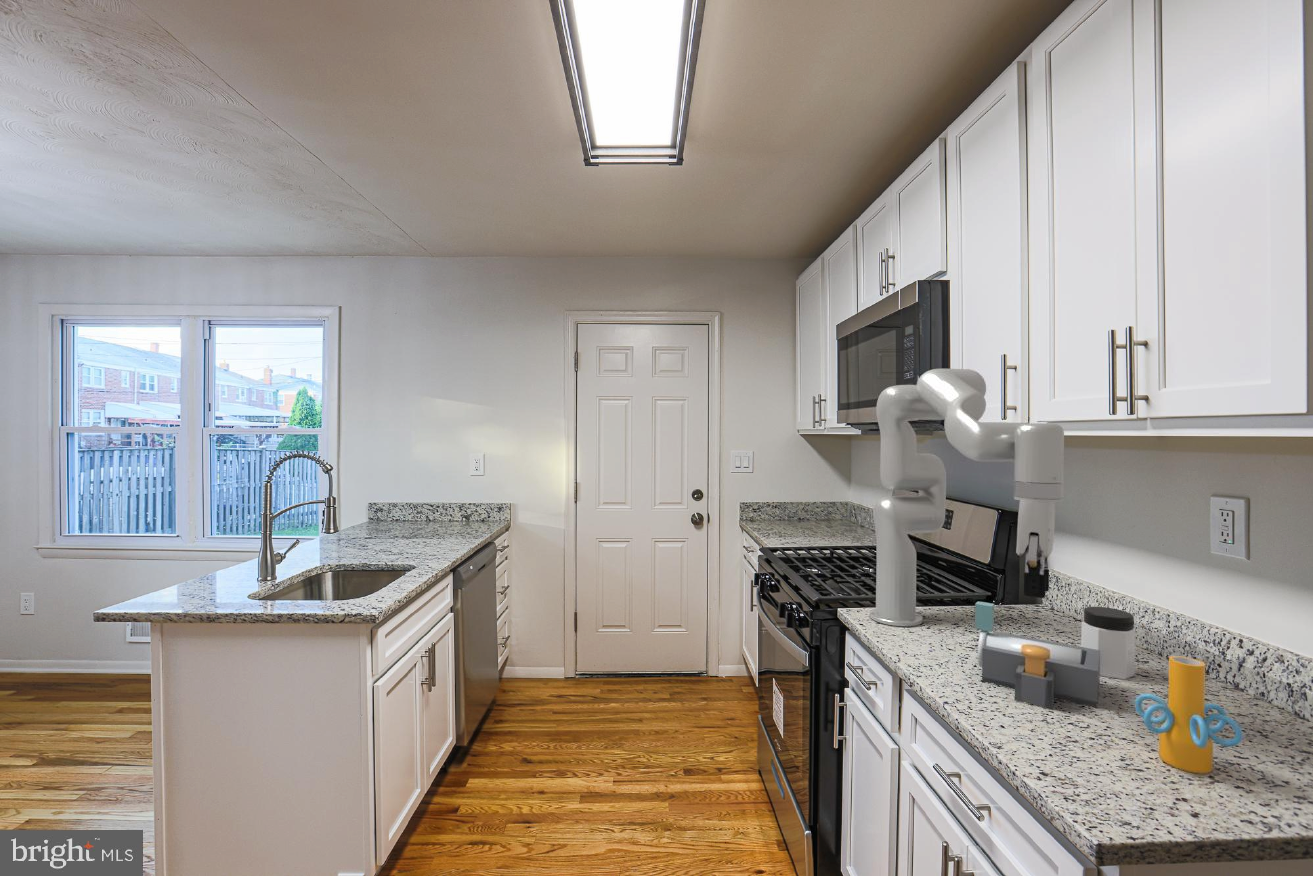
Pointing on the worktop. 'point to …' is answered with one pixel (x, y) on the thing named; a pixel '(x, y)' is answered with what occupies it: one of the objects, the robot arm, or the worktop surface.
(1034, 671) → the plunger
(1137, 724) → the worktop surface
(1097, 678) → the housing
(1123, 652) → the jar
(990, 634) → the cartridge
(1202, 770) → the ringed yellow tube
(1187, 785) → the worktop surface
